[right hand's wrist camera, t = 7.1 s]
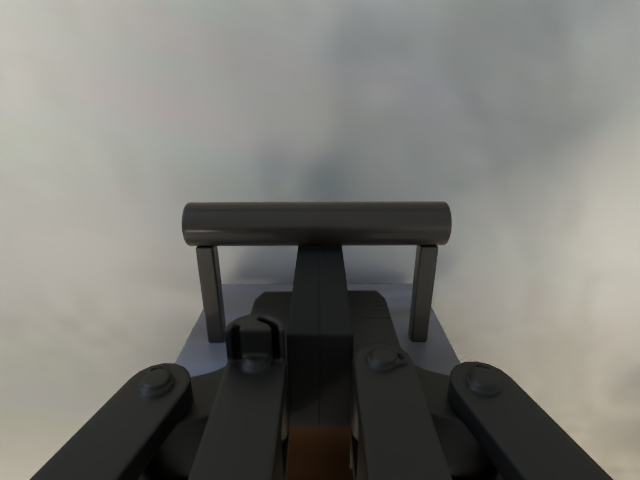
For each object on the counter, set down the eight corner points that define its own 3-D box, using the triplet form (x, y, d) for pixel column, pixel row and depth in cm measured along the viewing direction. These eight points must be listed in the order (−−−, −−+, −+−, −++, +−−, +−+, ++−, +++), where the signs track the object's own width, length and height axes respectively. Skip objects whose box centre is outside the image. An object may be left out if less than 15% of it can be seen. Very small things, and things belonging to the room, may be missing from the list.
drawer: (203, 175, 17) (133, 227, 10) (431, 174, 17) (498, 226, 10) (242, 510, 25) (215, 653, 18) (395, 510, 25) (422, 652, 18)
